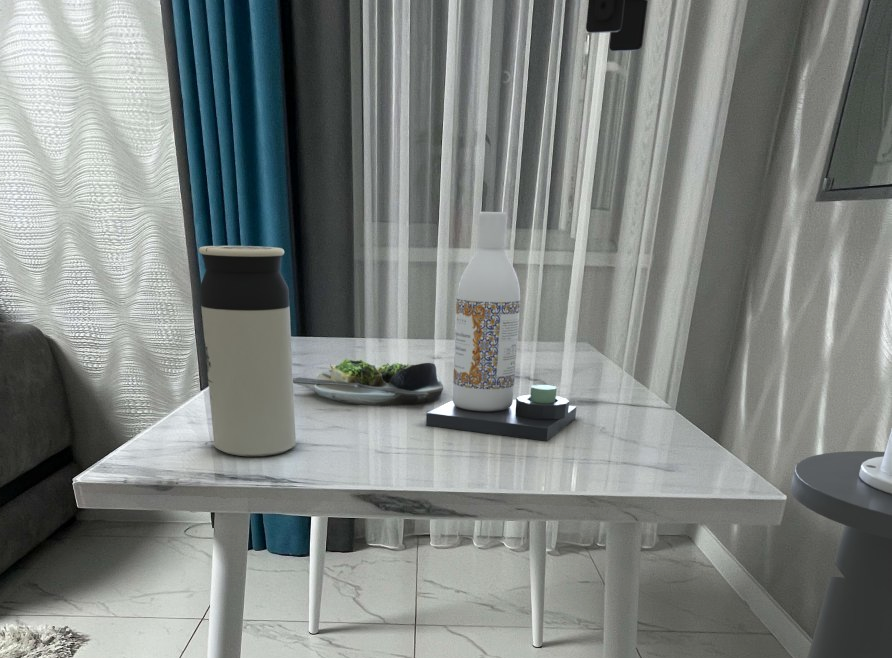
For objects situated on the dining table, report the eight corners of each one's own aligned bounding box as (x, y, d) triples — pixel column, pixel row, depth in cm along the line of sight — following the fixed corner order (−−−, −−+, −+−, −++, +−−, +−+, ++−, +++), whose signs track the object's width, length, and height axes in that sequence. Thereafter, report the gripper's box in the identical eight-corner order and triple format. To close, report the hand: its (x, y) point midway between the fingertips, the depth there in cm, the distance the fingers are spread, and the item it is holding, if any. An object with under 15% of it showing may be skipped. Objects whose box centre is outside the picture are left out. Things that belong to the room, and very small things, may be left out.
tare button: (558, 402, 91) (559, 386, 90) (551, 406, 89) (552, 390, 88) (534, 399, 92) (535, 383, 91) (526, 404, 90) (528, 387, 89)
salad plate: (286, 408, 96) (284, 368, 94) (297, 379, 112) (295, 344, 110) (448, 410, 98) (449, 370, 96) (436, 381, 114) (437, 347, 112)
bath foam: (441, 402, 95) (447, 210, 86) (491, 398, 98) (502, 212, 89) (472, 414, 89) (482, 211, 80) (524, 409, 92) (539, 213, 83)
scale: (578, 419, 95) (581, 393, 94) (549, 441, 85) (552, 413, 84) (465, 405, 100) (466, 380, 99) (425, 425, 91) (426, 398, 89)
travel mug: (306, 439, 84) (298, 247, 75) (281, 460, 77) (269, 251, 68) (232, 434, 85) (216, 244, 76) (201, 454, 78) (180, 247, 69)
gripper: (619, -156, 78) (597, 58, 86) (573, -238, 64) (552, 26, 72) (699, -167, 76) (669, 55, 84) (669, -255, 62) (636, 21, 70)
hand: (614, 41), depth 78 cm, fingers open, 9 cm apart
